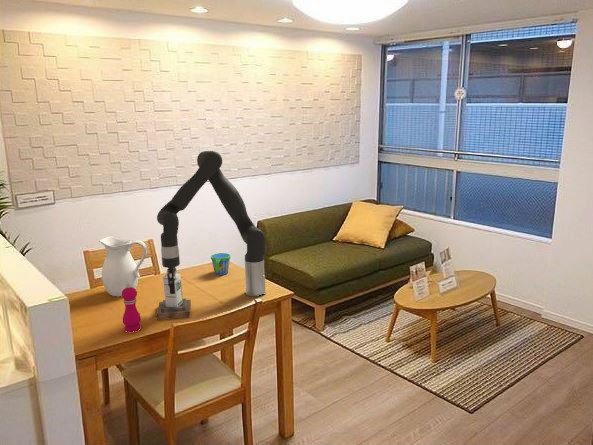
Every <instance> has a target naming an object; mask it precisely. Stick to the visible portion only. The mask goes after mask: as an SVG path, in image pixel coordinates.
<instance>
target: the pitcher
mask: <svg viewBox="0 0 593 445" xmlns="http://www.w3.org/2000/svg"><path fill="white" fill-rule="evenodd" d="M98 242H100V243H101V244H102V245H103V246H104V248H105V249H106V254H105V258H104V261H103V265H102V269H101V270H102V271H101V280H102V284H103V287H104V288H105V290H106V291H107V293H108V294H109V295H110V296H111V295H112V296H111V297H114V296H121V297H122V291H123V289H125V288H127V287H126V285H127V284H130V285H131V287H133V288H135V289H136V288H137V286H138V283H139V278H141V275H140V273H139V268H140V266H141V265H142V263H143V262H144V261H145V259H146V257H147V256H148V255H147V254H148V247H147V244H146V243H145V242H144V241H142V240H134V241H132V240H131V239H130V240H123V239H120V238H118V237H115V236H111V235H110V236H109V235H108V236H106V237H104V238H102V239H100V240H98ZM135 245H139V246H141V248H142V249H143V253H142V256H141V259H140V260H139V262H138V263H137V264H136V262H135V260H134V258H133V256H132V254H131V252H130V251H131V250H132V247H133V246H135ZM136 290H137V289H136Z"/></svg>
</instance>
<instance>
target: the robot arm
mask: <svg viewBox="0 0 593 445" xmlns="http://www.w3.org/2000/svg"><path fill="white" fill-rule="evenodd" d="M196 162H197V166H198V168H197V170H196V171H195V173H194V174H193V175H192V176H191V177H190V178H189V179H187V181H185V183H183V185H181V186H180V187H179V188H178V190H177V191H176V192H175V194H174V195H173V196H172V199H170V200H169V201H168V202H167V203H166V204H165V205H164V206H162V207H161V209H159V212H158V213H157V216H156V220H157V223H158V224H159V225H161V226H162V228H163V229H162V230H163V231H162V233H161V234H160V244H161V246H160V249H161V250H160V251H161V254H160V255H161V265H162V267H163V268H167V269H166V275H167V278H168V285H169V288H170V294H175V280H176V273H177V271H178V270H177V267H178V266H180V264H181V262H180V261H181V260H180V249H179V242H178V241H179V240H178V231H179V225H180V224H179V223H180V222H179V217H178V215H177V214H178V213H179V212H181V211H185V209H186V208H187V207H188V206H189V204H190V203H191V201H192V200H193V199H194V197H195V196H196V194H198V192H199V191H200V190H201V188H203V186H204V185H205V184H206V183H207V182H209V183H210V185H211V187H212V188H213V190H214V192H215V193H216V195H217V197H218V199H219V201H220V203H221V205H222V206H223V208H224V209H225V211H226V213H227V214H228V215H229V217H230V218H231V220H232V221H233V223H234V224H235V226H236V227H237V230H238V232H239V234H240V237H241V239H242V241H243V242H244V243H245V244H246V253H245V254H244V270H245V271H244V273H245V274H244V275H245V293H246V295H247V296H248V297H260V296H259V295H261V294H264V293H265V294H266V276H265V256H266V235H265V233H264V231H262V230H261V229H260V228H258V227H257V226H256V225H255V224H254V223H253V221H252V219H251V218H250V216H249V214H248V212H247V207H246V204H245V201H244V199H243V197H242V196H241V194H240V192H239V191H238V190H237V188H236V187H235V185H234V184H233V183H232V182H231V181H229V179H227V177H226V176H225V175H224V173H223V171H222V170H221V169H220V168H221V167H222V165H223V157H222V155H221V154H220V152H218V151H215V150H205V151H204V150H203V151H201V152H199V154H198V155H197V158H196ZM174 277H175V279H174ZM170 281H173V283H170ZM261 296H262V295H261Z"/></svg>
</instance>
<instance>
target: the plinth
mask: <svg viewBox="0 0 593 445" xmlns="http://www.w3.org/2000/svg"><path fill="white" fill-rule="evenodd" d="M191 303H192V302H191V299H187V298H183V303H182V304H181V305H180V306H179V307H166V302H165V299H163V300H162V301H159V302H158V306H157V311H156V320H157V321H159V320H169V319H170V320H171V319H180V318H191V309H192V306H191Z"/></svg>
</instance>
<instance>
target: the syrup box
mask: <svg viewBox="0 0 593 445" xmlns="http://www.w3.org/2000/svg"><path fill="white" fill-rule="evenodd" d="M181 277H182V276H181V273H180V272H176V280H175V294H170V288H169V285H168V278H167V274H165V275H163V277H162V280H163V282H162V283H163V289H164V290H163V292H164V300H165V302H166V307H179V306H180V305H181V304H182V303H183V299H184V298H183V290H182V288H183V287H182V278H181ZM174 279H175V277H174ZM170 283H173V281H170Z"/></svg>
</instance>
